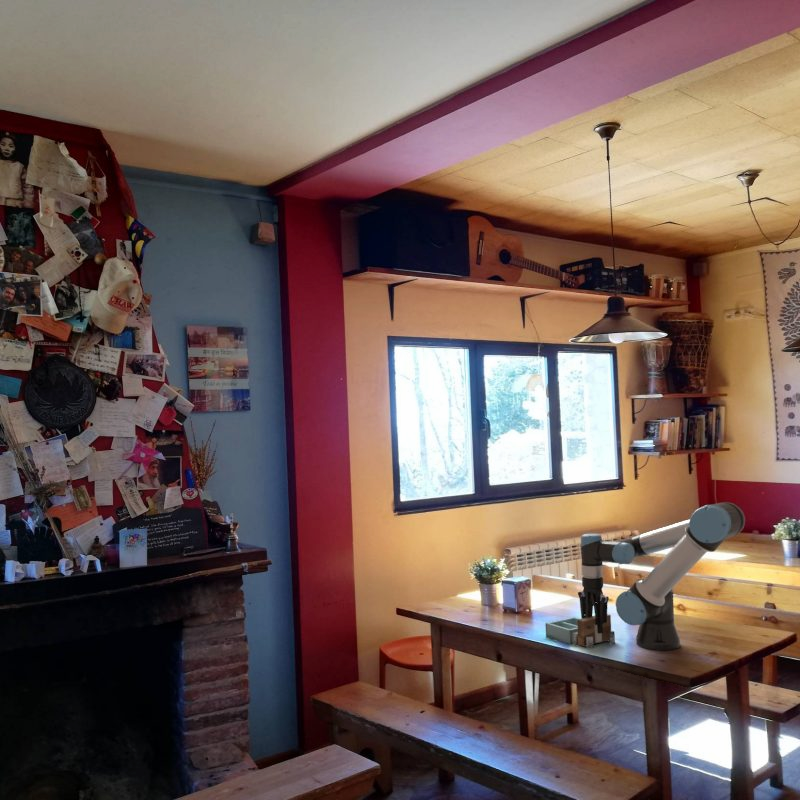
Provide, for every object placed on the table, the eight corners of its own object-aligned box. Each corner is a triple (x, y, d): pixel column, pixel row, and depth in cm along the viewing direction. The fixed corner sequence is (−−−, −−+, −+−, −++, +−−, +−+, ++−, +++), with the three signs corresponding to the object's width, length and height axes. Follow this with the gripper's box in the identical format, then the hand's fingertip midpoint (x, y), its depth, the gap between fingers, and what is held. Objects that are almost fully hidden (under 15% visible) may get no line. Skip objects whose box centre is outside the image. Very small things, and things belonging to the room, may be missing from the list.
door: (613, 639, 292) (612, 615, 292) (586, 646, 285) (585, 621, 285) (605, 637, 295) (604, 613, 296) (578, 644, 288) (577, 619, 288)
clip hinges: (614, 642, 291) (614, 631, 291) (588, 648, 284) (588, 637, 284) (597, 637, 298) (597, 626, 298) (571, 643, 291) (571, 632, 291)
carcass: (599, 637, 298) (598, 623, 299) (570, 643, 290) (569, 630, 291) (574, 629, 309) (574, 617, 310) (545, 636, 301) (545, 623, 302)
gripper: (616, 578, 286) (618, 643, 285) (583, 571, 300) (586, 634, 299) (601, 581, 282) (603, 647, 282) (569, 574, 296) (571, 637, 295)
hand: (594, 640), depth 290 cm, fingers closed on door, 3 cm apart
